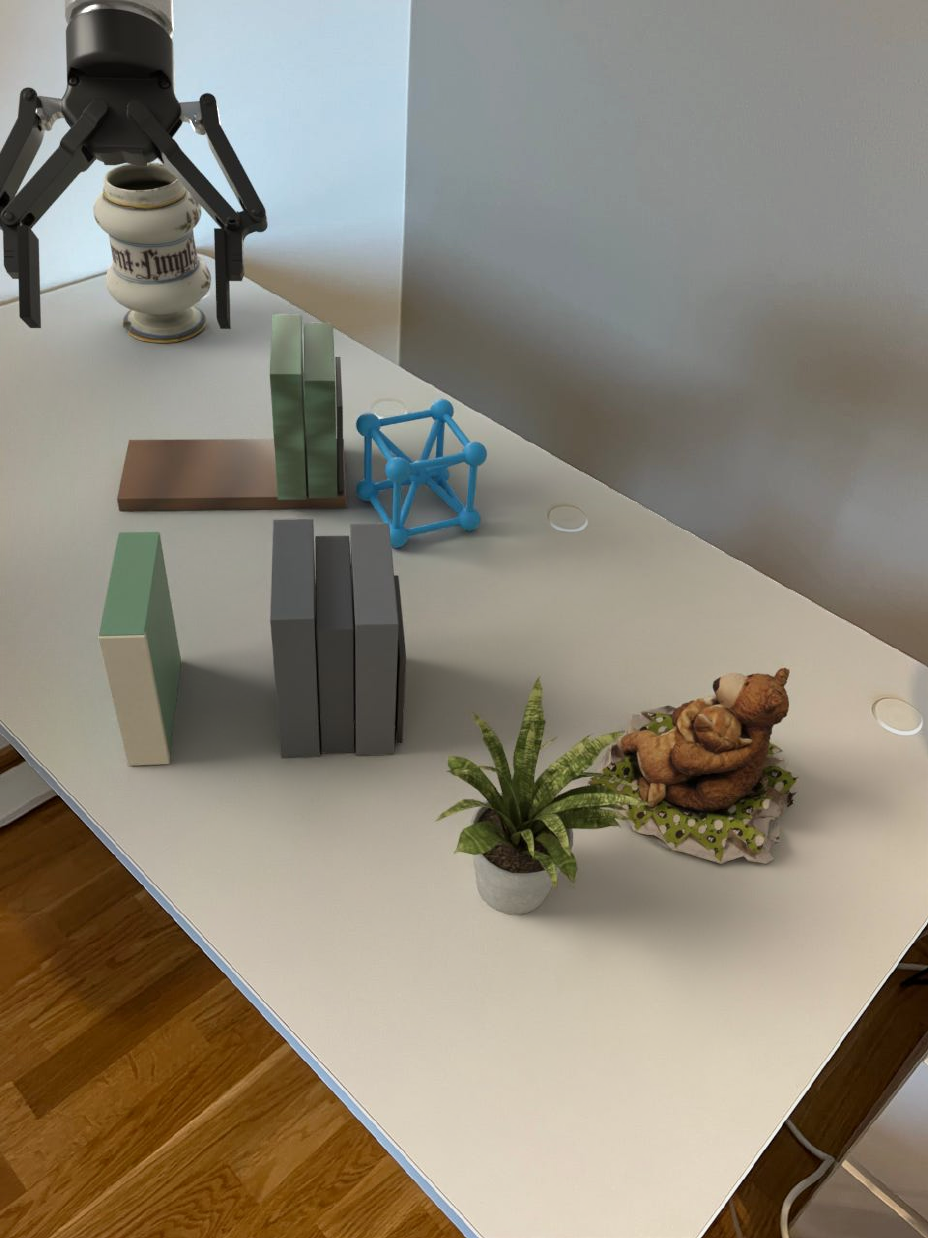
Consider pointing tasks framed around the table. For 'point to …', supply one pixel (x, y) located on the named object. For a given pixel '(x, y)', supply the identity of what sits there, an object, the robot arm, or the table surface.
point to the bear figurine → (707, 770)
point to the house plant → (531, 812)
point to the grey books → (336, 640)
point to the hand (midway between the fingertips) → (128, 323)
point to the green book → (141, 648)
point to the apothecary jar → (153, 252)
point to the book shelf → (257, 442)
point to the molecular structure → (419, 471)
